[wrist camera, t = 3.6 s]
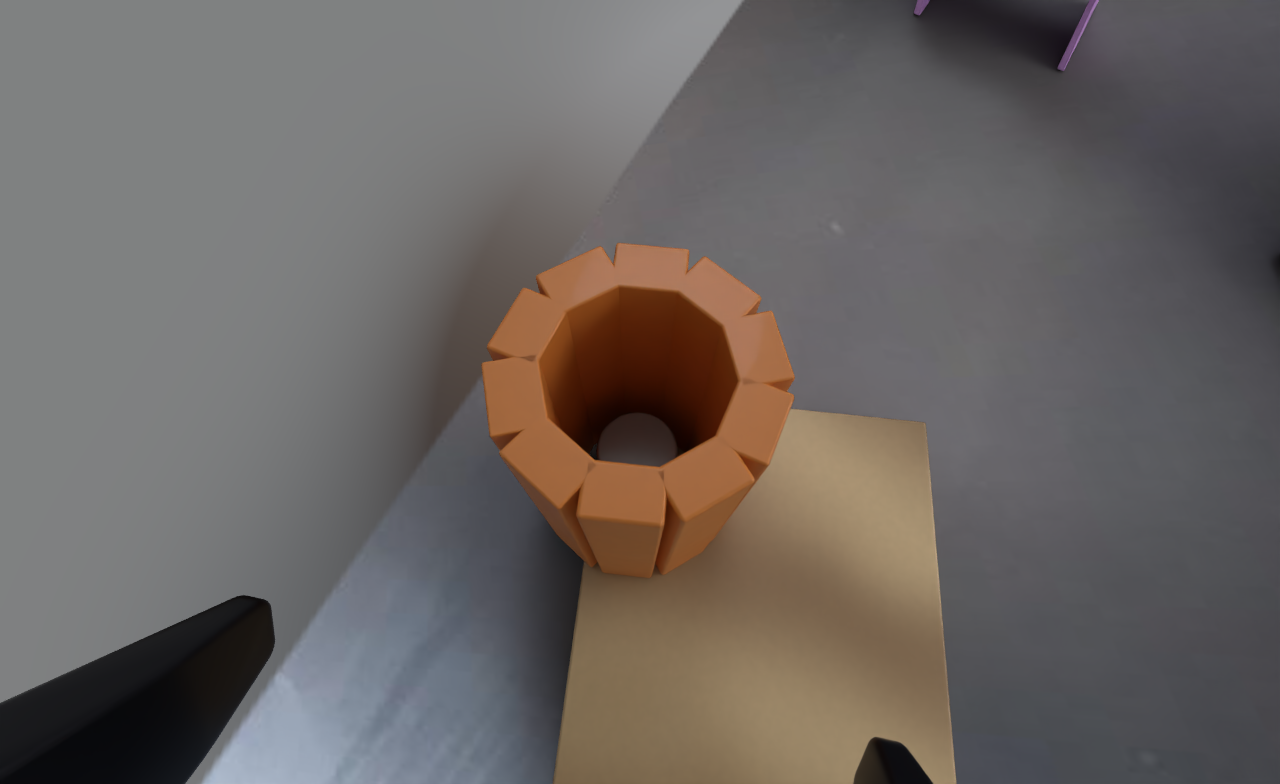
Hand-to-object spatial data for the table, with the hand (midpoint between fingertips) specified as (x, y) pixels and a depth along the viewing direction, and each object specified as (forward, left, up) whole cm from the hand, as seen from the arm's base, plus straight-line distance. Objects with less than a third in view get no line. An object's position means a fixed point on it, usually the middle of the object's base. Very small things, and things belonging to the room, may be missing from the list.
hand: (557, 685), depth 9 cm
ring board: (+2, -5, -12) cm, 13 cm away
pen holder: (+6, -1, -11) cm, 13 cm away
